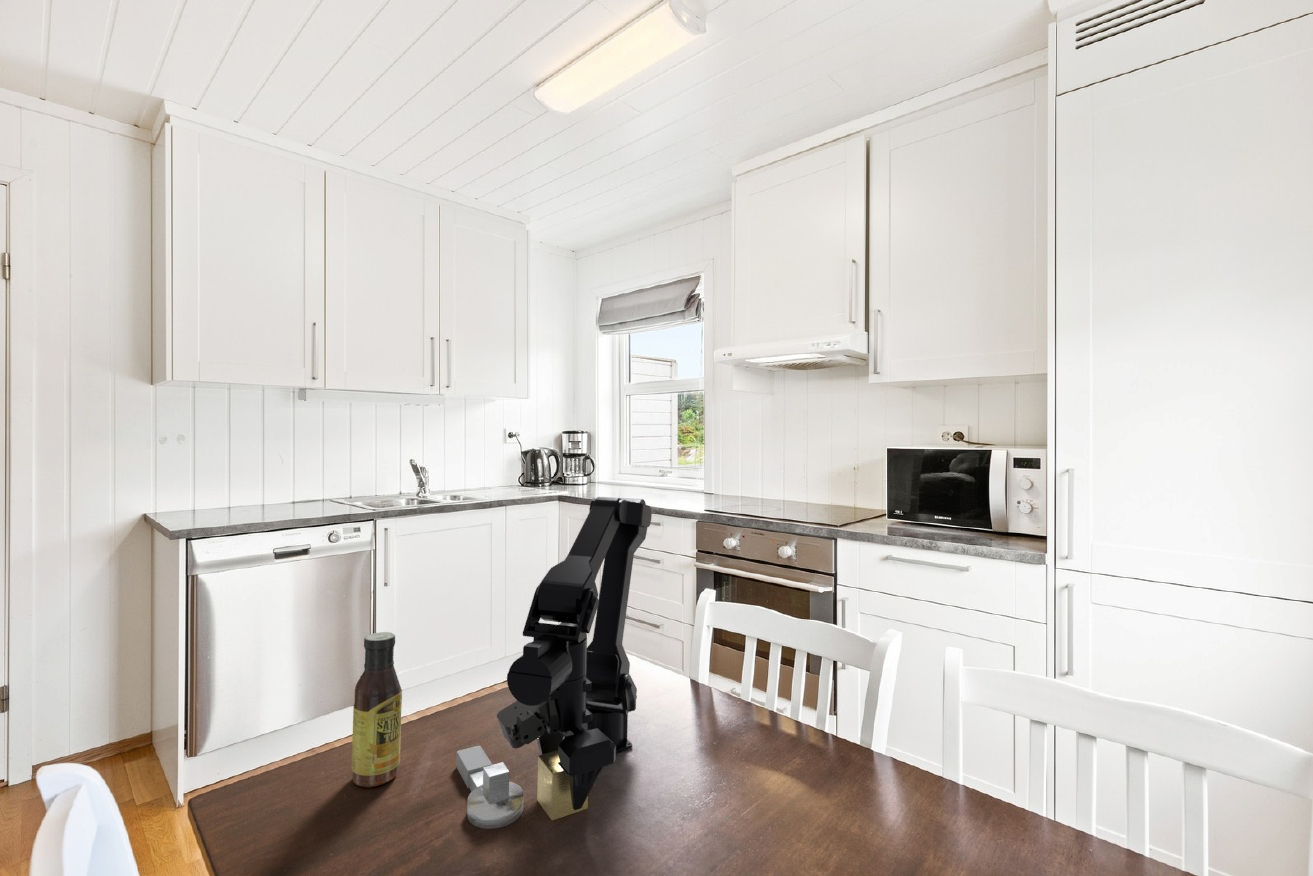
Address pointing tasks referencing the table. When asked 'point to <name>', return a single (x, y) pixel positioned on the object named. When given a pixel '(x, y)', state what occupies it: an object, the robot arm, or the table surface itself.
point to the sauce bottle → (377, 715)
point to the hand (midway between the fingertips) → (562, 790)
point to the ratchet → (488, 790)
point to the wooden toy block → (554, 787)
